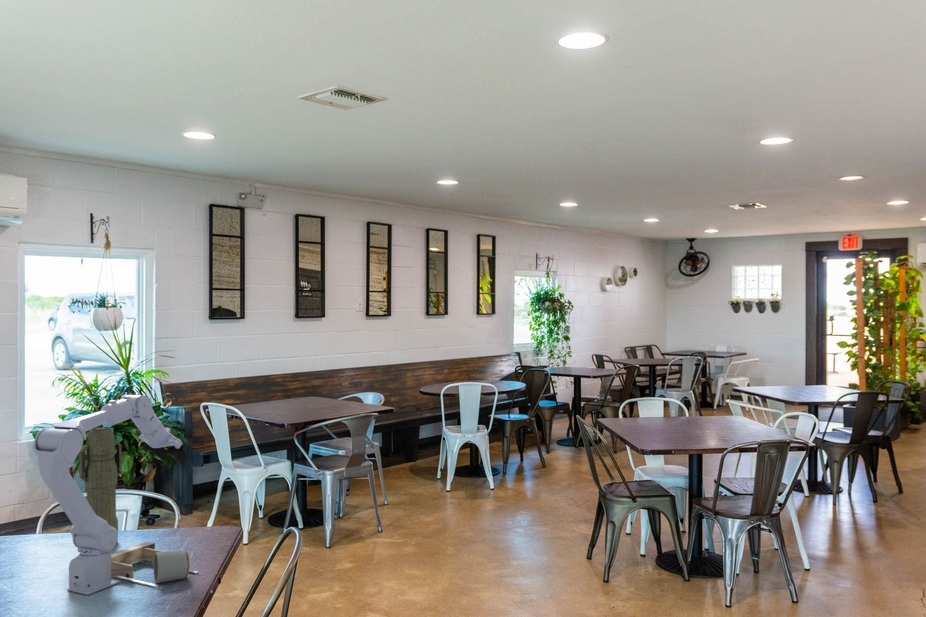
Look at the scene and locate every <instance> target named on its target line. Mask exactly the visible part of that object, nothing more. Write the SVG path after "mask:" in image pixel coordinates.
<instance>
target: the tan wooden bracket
mask: <svg viewBox="0 0 926 617" xmlns="http://www.w3.org/2000/svg"><path fill="white" fill-rule="evenodd" d="M155 546H156V545H155V542H150V541H146V542H141V543H139V544H137V545H134V546H130V547H129V548H126V549H123V550H120V551H116V552H114V553H111V574H113V575H117V576H121V577H126V578H130V579H134V565H133V564H134V563H139V562H138V561H140V560H146V561H150V562H154V556H155V553H156V552H166V551H165V550H158V549H156V547H155Z"/></svg>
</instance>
